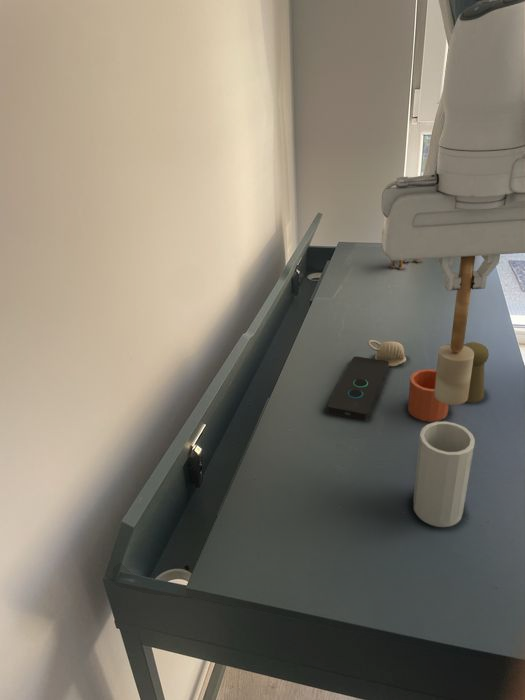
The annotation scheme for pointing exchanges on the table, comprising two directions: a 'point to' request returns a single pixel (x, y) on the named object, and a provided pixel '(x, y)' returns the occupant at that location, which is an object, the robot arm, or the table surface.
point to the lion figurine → (401, 263)
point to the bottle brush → (457, 346)
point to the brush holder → (425, 397)
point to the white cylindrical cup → (442, 473)
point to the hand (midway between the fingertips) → (464, 288)
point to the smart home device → (358, 388)
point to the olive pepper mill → (477, 371)
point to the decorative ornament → (389, 352)
